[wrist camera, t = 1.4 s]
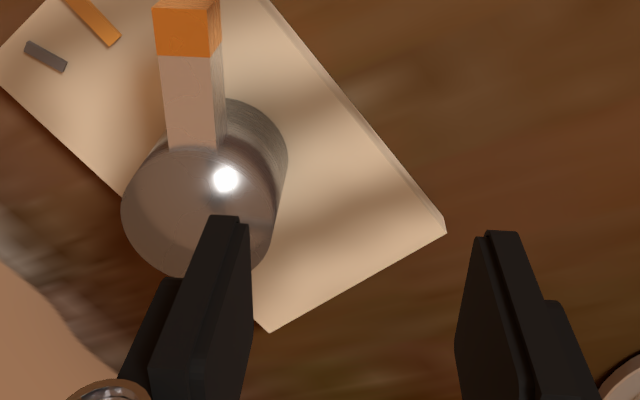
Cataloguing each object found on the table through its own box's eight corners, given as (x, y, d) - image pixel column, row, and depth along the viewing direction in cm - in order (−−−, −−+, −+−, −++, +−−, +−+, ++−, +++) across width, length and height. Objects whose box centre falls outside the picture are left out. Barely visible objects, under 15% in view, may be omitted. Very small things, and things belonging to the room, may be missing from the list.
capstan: (288, 290, 32) (274, 371, 27) (180, 283, 32) (147, 363, 28) (287, -21, 24) (267, 16, 19) (140, -27, 24) (82, 8, 19)
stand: (443, 217, 31) (447, 236, 30) (272, 315, 36) (268, 337, 34) (172, -122, 24) (158, -119, 22) (-2, 57, 28) (-24, 70, 27)
